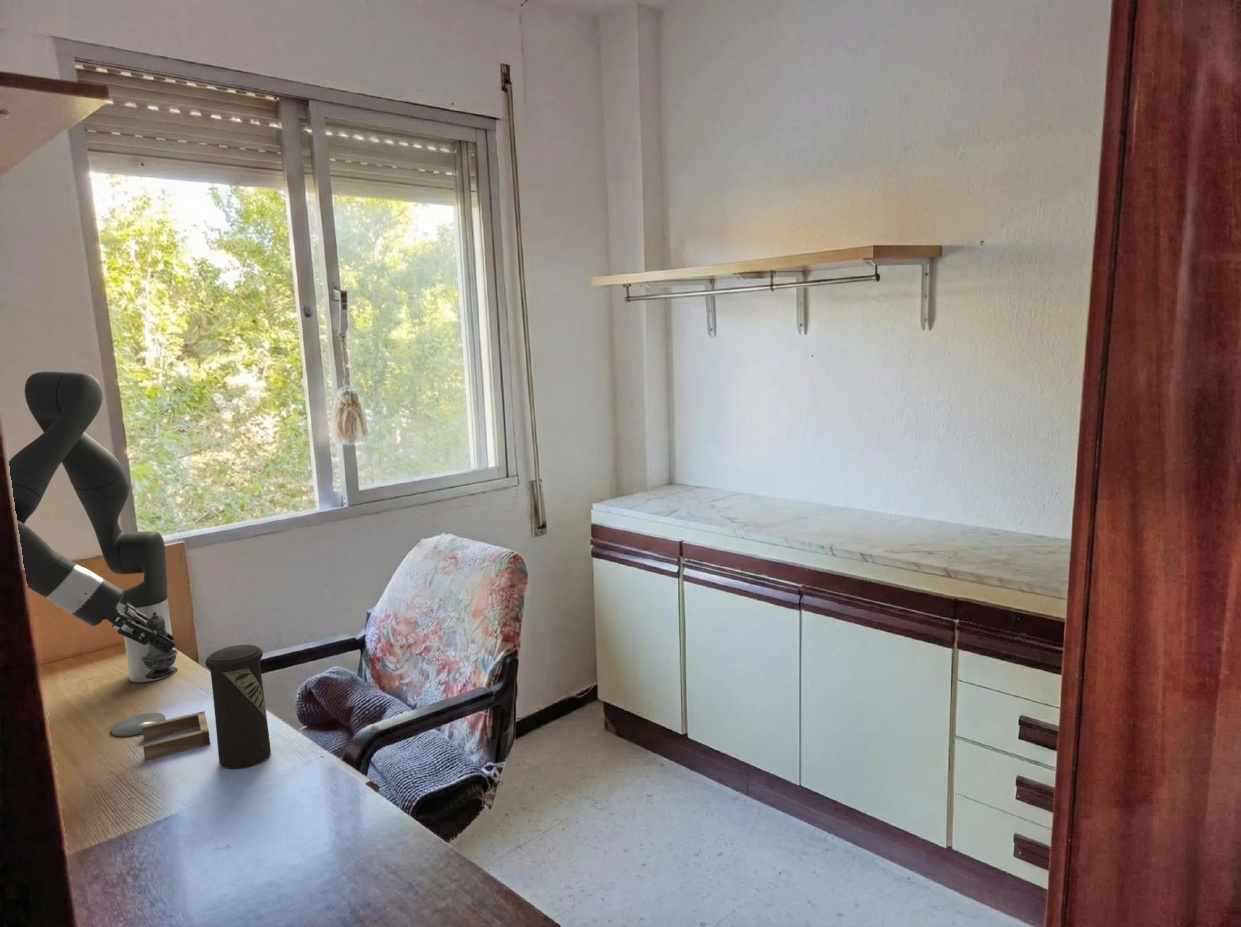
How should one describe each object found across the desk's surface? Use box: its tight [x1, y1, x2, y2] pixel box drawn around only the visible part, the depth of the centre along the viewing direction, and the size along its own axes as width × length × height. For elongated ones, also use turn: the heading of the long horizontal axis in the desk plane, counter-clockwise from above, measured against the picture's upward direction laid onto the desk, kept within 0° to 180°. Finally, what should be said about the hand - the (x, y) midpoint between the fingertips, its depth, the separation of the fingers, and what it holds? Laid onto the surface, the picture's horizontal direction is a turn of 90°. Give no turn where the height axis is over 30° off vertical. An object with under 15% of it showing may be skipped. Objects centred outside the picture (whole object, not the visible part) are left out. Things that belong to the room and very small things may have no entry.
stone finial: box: [141, 611, 179, 680], centre depth 147 cm, size 6×6×12 cm
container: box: [204, 644, 272, 769], centre depth 139 cm, size 9×9×20 cm
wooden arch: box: [142, 710, 211, 761], centre depth 148 cm, size 10×10×2 cm
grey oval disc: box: [110, 712, 166, 737], centre depth 155 cm, size 9×9×1 cm
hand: (170, 645), depth 149 cm, fingers closed on stone finial, 3 cm apart
